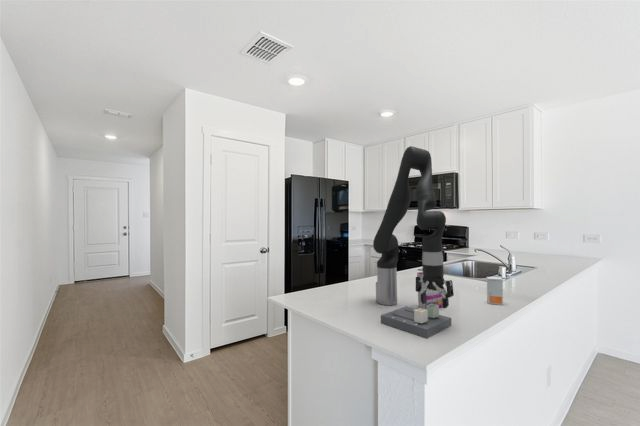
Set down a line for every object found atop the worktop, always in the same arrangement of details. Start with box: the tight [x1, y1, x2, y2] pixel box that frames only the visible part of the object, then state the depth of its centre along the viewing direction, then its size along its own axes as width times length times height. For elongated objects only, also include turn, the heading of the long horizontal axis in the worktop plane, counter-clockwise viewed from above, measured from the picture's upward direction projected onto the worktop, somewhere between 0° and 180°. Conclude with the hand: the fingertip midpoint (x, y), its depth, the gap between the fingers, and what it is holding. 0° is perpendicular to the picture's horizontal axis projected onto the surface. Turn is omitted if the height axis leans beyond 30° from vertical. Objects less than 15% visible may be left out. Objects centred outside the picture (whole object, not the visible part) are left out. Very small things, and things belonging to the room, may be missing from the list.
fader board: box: [380, 306, 452, 339], centre depth 116 cm, size 20×17×3 cm
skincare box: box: [486, 276, 504, 306], centre depth 141 cm, size 6×4×12 cm
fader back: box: [426, 304, 440, 318], centre depth 115 cm, size 3×4×4 cm
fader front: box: [414, 307, 428, 324], centre depth 110 cm, size 3×4×4 cm
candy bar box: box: [416, 271, 443, 309], centre depth 136 cm, size 11×5×16 cm, turn 118°
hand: (434, 305), depth 115 cm, fingers open, 8 cm apart
